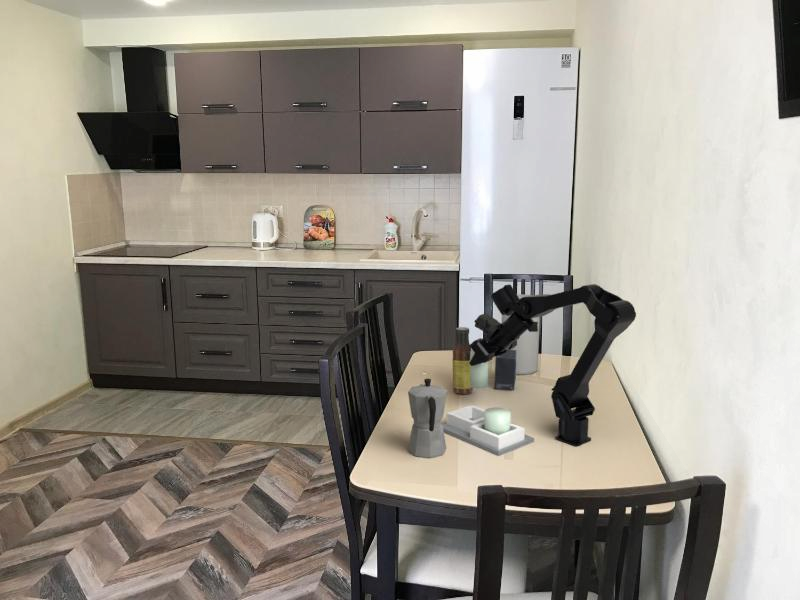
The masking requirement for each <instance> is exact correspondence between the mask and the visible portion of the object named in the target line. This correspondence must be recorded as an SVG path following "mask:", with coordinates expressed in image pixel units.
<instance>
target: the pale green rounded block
mask: <svg viewBox="0 0 800 600" xmlns="http://www.w3.org/2000/svg"><path fill="white" fill-rule="evenodd" d="M474 354H475V352H474V351H473V350H472V349H471V351H470V361H471V359H472V357H473V355H474ZM470 386H471V387H473V389H479V390H480V389H482V390H483V389H486V388H488V387H489V361H488V362H486V363H480V364H477V365H474V366H471V365H470Z"/></svg>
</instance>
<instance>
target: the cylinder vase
mask: <svg viewBox="0 0 800 600" xmlns="http://www.w3.org/2000/svg"><path fill="white" fill-rule="evenodd" d="M516 295H517V296H518V298H519V299H521V298H522V297H527V296H534V295H532V294H523V293H522V294H519V293H518V294H517V293H516ZM510 316H511V315H510ZM510 316H507V315H502V314H501V323H503V322H504V321H505V320H506V319H507V318H509V317H510ZM540 318H541V317H535V318H532V319H533V321H534V322H538V325H537V326H538V331H537V332H529V331H528V329H527V330H526V331H525V332H524V333H523V334H522V335H521V336H520V338H519V339H518V340H517V346H515V347H514V348H513V349H511V350H516V375H517V376H518V375H520V376H521V375H530V374H535V373H536V372H537V371H538V366H539V345H540V344H539V343H540ZM509 346H510V345H509ZM507 350H508V349H507Z"/></svg>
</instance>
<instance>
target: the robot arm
mask: <svg viewBox="0 0 800 600" xmlns="http://www.w3.org/2000/svg"><path fill="white" fill-rule="evenodd" d="M516 294H517V293H516V292H515V290H514V288H513V286H512V285H511V284H505V285H503V287H501V288H499V289H497V290H496V291H494V292H493V293H491V296H490V299H491V300H492V302H493V303H494V305H495V307H496V309H498V311H499V313H500V314H501V316H502V315H507V316H510V315H511V316H510V317H509V318H507V319H506V320H505V321H504V322H503V323H502V322H500V321H499V320H497V319H496V318H494V317H493V316H491V315H490V314H488V313H483V314H480V315H478V316H477V318H476V319H475V320H474V327H475V328H477V329H479V330H480V331H482V332H483V333H485V334H484V335H485V337H486V338H487V339H488V340H486V339H485V338H483V337H482V338H480V337H479V338H477V339H476V340H475V339H474V341H473V342H471V343H469V344H470V347H471V350H473V351H474V352H475V354H474V355H473V357H472V359H471V361H470V362H469V364H470V365H471V366H474V365H477V364H480V363H486V362H488V363H489V362H490V361H491V360H493V358H496V356H499V355H502V354H504V353H506V352H507V350H506V349H508V350H511V349H513V348H514V347H515V346H517V340H518V339H519V338H520V336H521V335H522V334H523V333H524V332H525V331H526V330H527V329H528V331H529V332H537V331H538V326H537V325H538V322H534V321H533V319H532V318H535V317H540V318H541V317H545V316H546V315H549V314H550V313H552V312H553V311H555V310H558V309H561V308H565V307H570V306H574V305H579V304H582V303H583V304H584V305H585V306H586V308H587V310H588V312H589V313H590V315H592V316H593V317H595V318H594V321H593V322H594V324H593V325H594V332H593V334H592V335H591V337H590V339H589V341H588V343H587V345H586V346H585V348H584V350H583V351H582V353H581V355H580V356H579V359H577V362H576V364H575V366H574V367H573V370H572V371H571V372H570V374H567V375H564V376H561V377H558V378H557V379H556V382H555V385H553V386H554V387H552V388H551V391H552V393H551V394H550V395H551V397H550V398H551V400H552V404H553V409H554V413H555V418H558V425H557V426H558V430H557V431H558V432H557V433H558V435H556V436H555V440H558V441H560V442H564V443H566V444H568V445H571V446H573V447H579V446H580V445H584V444H586V443H588V442H590V441H592V437H590V436H589V422H590V421H589V419H590V418H589V416H593V414H594V412H595V410H596V408H595V406H594V404H593V402H591V400H590V398H589V397H588V395H589V394H590V385H589V384H590V381H591V379H592V378H593V376H594V374H595V373H596V371H597V370H598V369H599V366H600V364H601V363H602V361H603V359H604V357H605V356H606V354H607V353H608V351H609V349H610V347H611V345H612V344H613V342H614V340H615V339H616V338H617V337H619V336H620V335H621V334H623V332H625V331H626V330H627V329H628V328H629V327H630V326H631V325H632V323H633V322H634V321H636V318H637V312H636V310H635V307H634V305H633V304H632V302H630V301H628V300H626V299H625V300H624V299H623V298H621V297H620V296H619V295H617V294H614V293H612V292H610V291H607V290H606V289H604V288H603V287H601V286H600V285H598V284H596V283H594V284H592V283H591V284H586V285H582V286H580V287H577V288H573V289H569V290H565V291H562V292H557V293H554V294H547V293H546V294H534V295H533V296H527V297H522V298H521V299H519V298H518V296H517V295H516ZM509 345H510V346H509Z"/></svg>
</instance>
